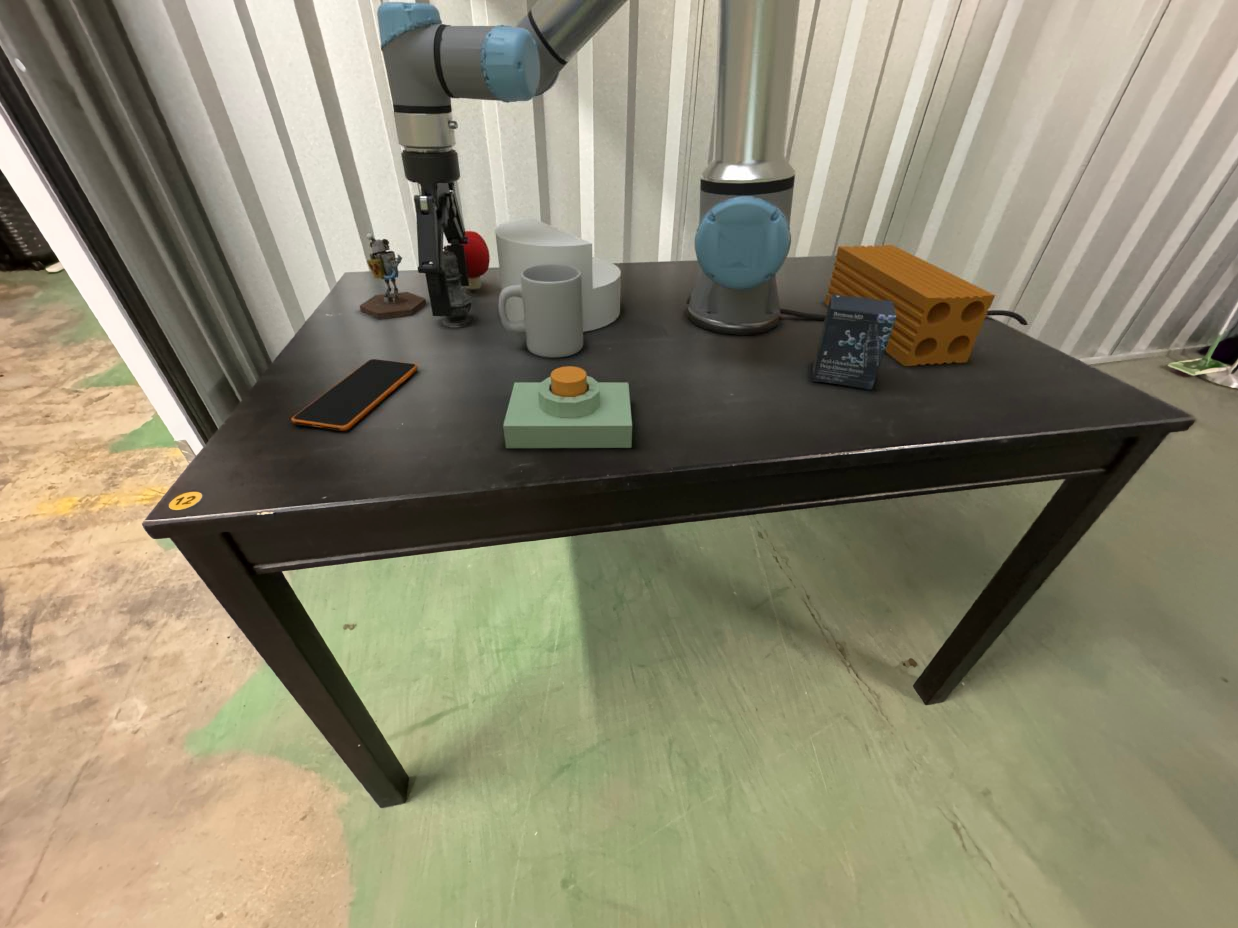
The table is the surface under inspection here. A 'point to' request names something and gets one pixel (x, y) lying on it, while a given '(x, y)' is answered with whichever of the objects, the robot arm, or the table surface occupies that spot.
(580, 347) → the mug
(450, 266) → the salt shaker
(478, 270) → the red mushroom
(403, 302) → the robot figurine
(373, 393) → the smartphone
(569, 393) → the orange push button
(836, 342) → the box
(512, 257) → the container
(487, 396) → the table surface
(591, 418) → the green button housing
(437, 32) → the robot arm
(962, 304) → the brick
